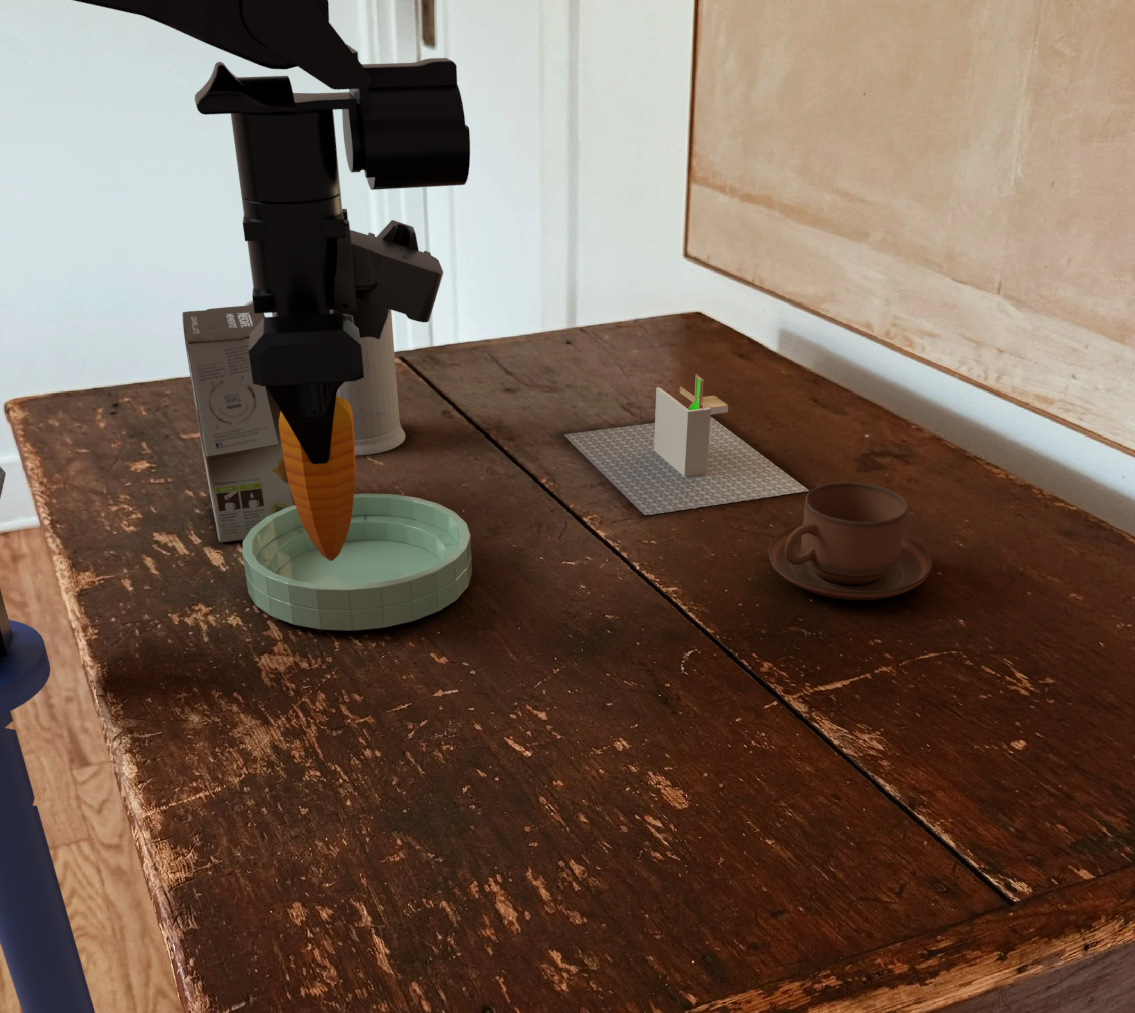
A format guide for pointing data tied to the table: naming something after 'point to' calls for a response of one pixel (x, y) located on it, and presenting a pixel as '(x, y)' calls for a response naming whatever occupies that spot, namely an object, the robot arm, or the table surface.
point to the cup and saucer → (851, 545)
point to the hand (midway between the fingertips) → (319, 448)
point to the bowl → (361, 565)
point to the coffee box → (235, 421)
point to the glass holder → (373, 382)
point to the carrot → (324, 482)
